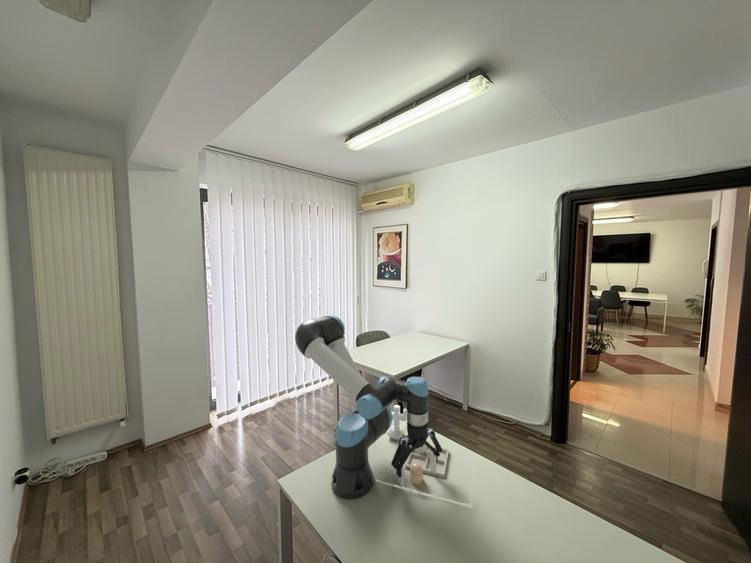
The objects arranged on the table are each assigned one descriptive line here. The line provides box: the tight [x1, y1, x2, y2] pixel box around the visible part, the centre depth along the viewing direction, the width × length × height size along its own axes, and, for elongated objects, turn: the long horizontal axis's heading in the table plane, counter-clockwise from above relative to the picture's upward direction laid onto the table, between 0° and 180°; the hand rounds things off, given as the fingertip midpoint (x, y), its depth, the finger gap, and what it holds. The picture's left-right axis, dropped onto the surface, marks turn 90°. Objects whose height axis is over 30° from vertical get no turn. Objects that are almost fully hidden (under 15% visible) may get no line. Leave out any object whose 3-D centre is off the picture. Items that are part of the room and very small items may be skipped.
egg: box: [409, 463, 424, 486], centre depth 107 cm, size 5×5×7 cm
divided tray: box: [404, 445, 450, 478], centre depth 117 cm, size 15×15×2 cm
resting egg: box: [415, 444, 426, 456], centre depth 122 cm, size 5×5×7 cm
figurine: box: [386, 404, 407, 441], centre depth 133 cm, size 7×9×15 cm
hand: (417, 477), depth 106 cm, fingers open, 13 cm apart
